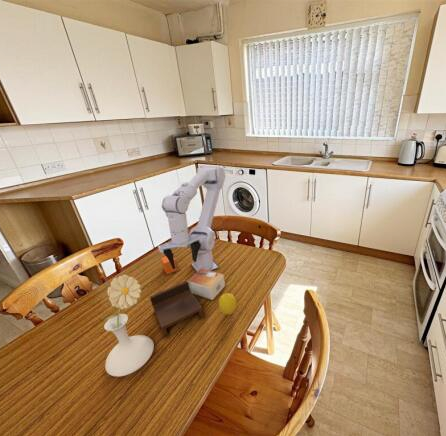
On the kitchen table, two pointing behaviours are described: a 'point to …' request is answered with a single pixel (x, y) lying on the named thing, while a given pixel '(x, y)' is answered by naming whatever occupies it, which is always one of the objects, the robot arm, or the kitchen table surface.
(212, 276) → the small box
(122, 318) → the flower in vase
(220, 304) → the lemon
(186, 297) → the toy bench
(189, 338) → the kitchen table surface
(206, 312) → the kitchen table surface
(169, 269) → the package
